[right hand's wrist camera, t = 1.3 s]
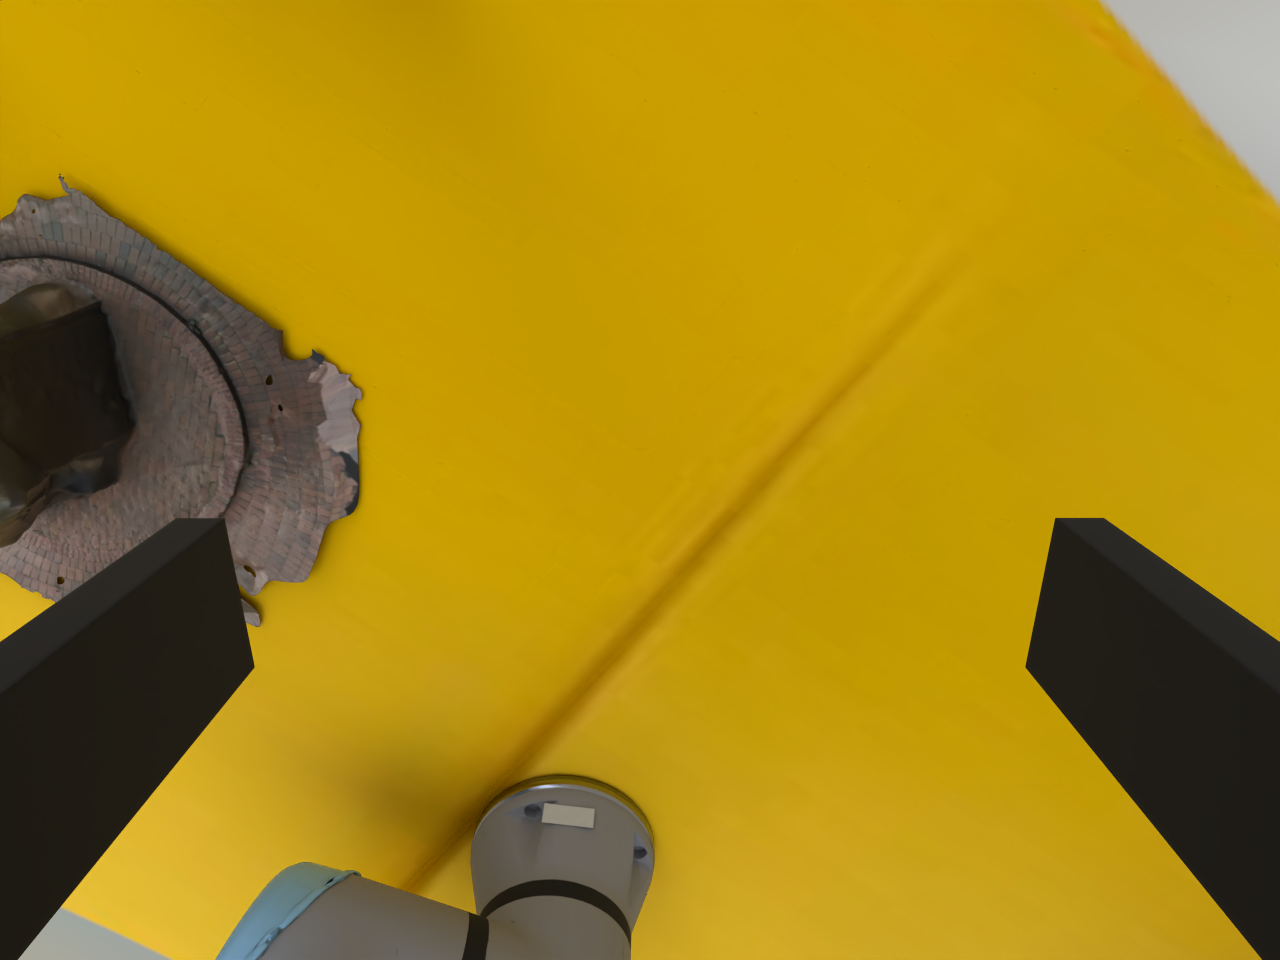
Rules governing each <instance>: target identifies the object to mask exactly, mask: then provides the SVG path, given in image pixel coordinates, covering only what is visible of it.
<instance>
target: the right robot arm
mask: <svg viewBox="0 0 1280 960" xmlns="http://www.w3.org/2000/svg"><path fill="white" fill-rule="evenodd" d="M253 669H254V662H253V657H252V652H251V647H250V642H249V637H248V632H247V627H246V622H245V617H244V612H243V607H242V602H241V597H240V592H239V587H238V582H237V577H236V572H235V567H234V562H233V557H232V552H231V547H230V542H229V537H228V532H227V527H226V522H225V518H176V519H174V520H173V521H171V522H170V523H169V524H167V525H166V526H164V527H163V528H161V529H160V530H159V531H157V532H156V533H154V534H153V535H151V536H150V537H149V538H147V539H146V540H144V541H143V542H142V543H140V544H139V545H137V546H136V547H134V548H133V549H132V550H130V551H129V552H127V553H126V554H124V555H123V556H122V557H120V558H119V559H117V560H116V561H115V562H113V563H112V564H110V565H109V566H107V567H106V568H105V569H103V570H102V571H100V572H99V573H98V574H96V575H95V576H93V577H92V578H90V579H89V580H88V581H86V582H85V583H83V584H82V585H80V586H79V587H78V588H76V589H75V590H73V591H72V592H71V593H69V594H68V595H66V596H65V597H63V598H62V599H61V600H59V601H58V602H56V603H55V604H53V605H52V606H51V607H49V608H48V609H46V610H45V611H44V612H42V613H41V614H39V615H38V616H36V617H35V618H34V619H32V620H31V621H29V622H28V623H27V624H25V625H24V626H22V627H21V628H19V629H18V630H17V631H15V632H14V633H12V634H11V635H9V636H8V637H7V638H5V639H4V640H2V641H1V642H0V960H18V959H19V957H20V956H21V955H22V954H23V952H24V951H25V950H26V949H27V947H28V946H29V945H30V944H31V943H32V941H33V940H34V939H35V938H36V936H37V935H38V934H39V933H40V931H41V930H42V929H43V928H44V927H45V925H46V924H47V923H48V922H49V920H50V919H51V918H52V917H53V915H54V914H55V913H56V912H57V910H58V909H59V908H60V907H61V906H62V904H63V903H64V902H65V901H66V899H67V898H68V897H69V896H70V894H71V893H72V892H73V891H74V890H75V888H76V887H77V886H78V885H79V883H80V882H81V881H82V880H83V878H84V877H85V876H86V875H87V873H88V872H89V871H90V870H91V869H92V867H93V866H94V865H95V864H96V862H97V861H98V860H99V859H100V857H101V856H102V855H103V854H104V852H105V851H106V850H107V849H108V848H109V846H110V845H111V844H112V843H113V841H114V840H115V839H116V838H117V836H118V835H119V834H120V833H121V831H122V830H123V829H124V828H125V827H126V825H127V824H128V823H129V822H130V820H131V819H132V818H133V817H134V815H135V814H136V813H137V812H138V811H139V809H140V808H141V807H142V806H143V804H144V803H145V802H146V801H147V799H148V798H149V797H150V796H151V794H152V793H153V792H154V791H155V790H156V788H157V787H158V786H159V785H160V783H161V782H162V781H163V780H164V778H165V777H166V776H167V775H168V773H169V772H170V771H171V770H172V769H173V767H174V766H175V765H176V764H177V762H178V761H179V760H180V759H181V757H182V756H183V755H184V754H185V752H186V751H187V750H188V749H189V748H190V746H191V745H192V744H193V743H194V741H195V740H196V739H197V738H198V736H199V735H200V734H201V733H202V732H203V730H204V729H205V728H206V727H207V725H208V724H209V723H210V722H211V720H212V719H213V718H214V717H215V715H216V714H217V713H218V712H219V711H220V709H221V708H222V707H223V706H224V704H225V703H226V702H227V701H228V699H229V698H230V697H231V696H232V694H233V693H234V692H235V691H236V690H237V688H238V687H239V686H240V685H241V683H242V682H243V681H244V680H245V678H246V677H247V676H248V675H249V673H250V672H251V671H252V670H253ZM1026 669H1027V670H1028V671H1029V672H1030V673H1031V675H1032V676H1033V677H1034V678H1035V680H1036V681H1037V682H1038V683H1039V685H1040V686H1041V687H1042V688H1043V690H1044V691H1045V692H1046V693H1047V694H1048V696H1049V697H1050V698H1051V699H1052V701H1053V702H1054V703H1055V704H1056V706H1057V707H1058V708H1059V709H1060V711H1061V712H1062V713H1063V714H1064V715H1065V717H1066V718H1067V719H1068V720H1069V722H1070V723H1071V724H1072V725H1073V727H1074V728H1075V729H1076V730H1077V732H1078V733H1079V734H1080V735H1081V736H1082V738H1083V739H1084V740H1085V741H1086V743H1087V744H1088V745H1089V746H1090V748H1091V749H1092V750H1093V751H1094V752H1095V754H1096V755H1097V756H1098V757H1099V759H1100V760H1101V761H1102V762H1103V764H1104V765H1105V766H1106V767H1107V769H1108V770H1109V771H1110V772H1111V773H1112V775H1113V776H1114V777H1115V778H1116V780H1117V781H1118V782H1119V783H1120V785H1121V786H1122V787H1123V788H1124V790H1125V791H1126V792H1127V793H1128V794H1129V796H1130V797H1131V798H1132V799H1133V801H1134V802H1135V803H1136V804H1137V806H1138V807H1139V808H1140V809H1141V811H1142V812H1143V813H1144V814H1145V815H1146V817H1147V818H1148V819H1149V820H1150V822H1151V823H1152V824H1153V825H1154V827H1155V828H1156V829H1157V830H1158V832H1159V833H1160V834H1161V835H1162V836H1163V838H1164V839H1165V840H1166V841H1167V843H1168V844H1169V845H1170V846H1171V848H1172V849H1173V850H1174V851H1175V852H1176V854H1177V855H1178V856H1179V857H1180V859H1181V860H1182V861H1183V862H1184V864H1185V865H1186V866H1187V867H1188V869H1189V870H1190V871H1191V872H1192V873H1193V875H1194V876H1195V877H1196V878H1197V880H1198V881H1199V882H1200V883H1201V885H1202V886H1203V887H1204V888H1205V890H1206V891H1207V892H1208V893H1209V894H1210V896H1211V897H1212V898H1213V899H1214V901H1215V902H1216V903H1217V904H1218V906H1219V907H1220V908H1221V909H1222V911H1223V912H1224V913H1225V914H1226V915H1227V917H1228V918H1229V919H1230V920H1231V922H1232V923H1233V924H1234V925H1235V927H1236V928H1237V929H1238V930H1239V931H1240V933H1241V934H1242V935H1243V936H1244V938H1245V939H1246V940H1247V941H1248V943H1249V944H1250V945H1251V946H1252V948H1253V949H1254V950H1255V951H1256V952H1257V954H1258V955H1259V956H1260V957H1261V959H1262V960H1280V642H1279V641H1278V640H1276V639H1275V638H1273V637H1272V636H1271V635H1269V634H1268V633H1266V632H1265V631H1263V630H1262V629H1261V628H1259V627H1258V626H1256V625H1255V624H1253V623H1252V622H1251V621H1249V620H1248V619H1246V618H1245V617H1244V616H1242V615H1241V614H1239V613H1238V612H1236V611H1235V610H1234V609H1232V608H1231V607H1229V606H1228V605H1226V604H1225V603H1224V602H1222V601H1221V600H1219V599H1218V598H1217V597H1215V596H1214V595H1212V594H1211V593H1209V592H1208V591H1207V590H1205V589H1204V588H1202V587H1201V586H1200V585H1198V584H1197V583H1195V582H1194V581H1192V580H1191V579H1190V578H1188V577H1187V576H1185V575H1184V574H1182V573H1181V572H1180V571H1178V570H1177V569H1175V568H1174V567H1173V566H1171V565H1170V564H1168V563H1167V562H1165V561H1164V560H1163V559H1161V558H1160V557H1158V556H1157V555H1156V554H1154V553H1153V552H1151V551H1150V550H1148V549H1147V548H1146V547H1144V546H1143V545H1141V544H1140V543H1138V542H1137V541H1136V540H1134V539H1133V538H1131V537H1130V536H1129V535H1127V534H1126V533H1124V532H1123V531H1121V530H1120V529H1119V528H1117V527H1116V526H1114V525H1113V524H1111V523H1110V522H1109V521H1107V520H1106V519H1104V518H1055V522H1054V527H1053V532H1052V537H1051V542H1050V547H1049V552H1048V557H1047V562H1046V567H1045V572H1044V577H1043V582H1042V587H1041V592H1040V597H1039V602H1038V607H1037V612H1036V617H1035V622H1034V627H1033V632H1032V637H1031V642H1030V647H1029V652H1028V657H1027V662H1026ZM653 869H654V838H653V834H652V830H651V828H650V825H649V823H648V821H647V819H646V817H645V816H644V814H643V813H642V812H641V810H640V809H639V808H638V807H637V806H636V805H635V804H634V803H633V802H632V801H631V800H630V799H629V798H628V797H626V796H625V795H624V794H622V793H621V792H619V791H617V790H616V789H614V788H612V787H610V786H608V785H605V784H603V783H600V782H598V781H595V780H591V779H587V778H582V777H576V776H561V775H559V776H546V777H539V778H535V779H531V780H527V781H524V782H522V783H519V784H517V785H515V786H513V787H511V788H509V789H507V790H505V791H504V792H502V793H501V794H500V795H498V796H497V797H496V798H495V799H494V800H493V801H492V802H491V803H490V804H489V805H488V806H487V807H486V809H485V810H484V812H483V813H482V815H481V817H480V819H479V821H478V824H477V827H476V830H475V834H474V838H473V842H472V847H471V873H472V881H473V888H474V896H475V903H476V911H477V915H476V914H472V913H469V912H467V911H464V910H461V909H458V908H455V907H452V906H449V905H446V904H443V903H440V902H437V901H434V900H430V899H427V898H424V897H421V896H418V895H415V894H412V893H409V892H406V891H403V890H400V889H397V888H394V887H391V886H388V885H385V884H382V883H379V882H376V881H373V880H369V879H366V878H363V877H361V874H360V873H359V872H357V871H355V870H352V871H351V870H346V871H341V870H338V869H334V868H330V867H327V866H323V865H319V864H316V863H311V862H302V863H298V864H296V865H293V866H290V867H287V868H286V869H284V870H282V871H281V872H280V873H279V874H277V875H276V876H275V877H274V878H273V879H272V880H271V881H270V882H269V883H268V884H267V886H266V887H265V888H264V889H263V890H262V892H261V893H260V894H259V895H258V897H257V898H256V899H255V901H254V902H253V903H252V905H251V906H250V907H249V909H248V910H247V912H246V913H245V914H244V916H243V917H242V919H241V920H240V922H239V923H238V925H237V926H236V928H235V929H234V931H233V932H232V934H231V935H230V937H229V938H228V940H227V941H226V943H225V945H224V946H223V948H222V950H221V951H220V953H219V955H218V956H217V958H216V960H631V934H632V931H633V928H634V926H635V923H636V920H637V918H638V915H639V913H640V910H641V907H642V905H643V902H644V900H645V897H646V894H647V892H648V889H649V886H650V883H651V880H652V874H653Z"/></svg>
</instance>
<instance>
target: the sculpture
mask: <svg viewBox="0 0 1280 960" xmlns="http://www.w3.org/2000/svg"><path fill="white" fill-rule="evenodd" d="M59 175H61V174H59ZM58 178H59V179H60V181H61V184H62V188H63V190H64V191H65V192H66V193H68V194H70V195H68V196H64V197H59V198H54V199H51V200H44V199H41V198H39V197H36V196H33V195H29V194H24V195H22V196H21V197H20V198H19V199H18V201H17V207H16V209H15V210H14V212H12V213H11V214H9V215H7V216H5V217H4V218H2V220H1V221H0V572H1V573H3V574H6V575H7V576H9V577H10V578H12V579H13V580H14V581H16V582H17V583H18V584H19V585H20V586H21V587H22V588H26V589H27V590H29V591H31V592H34V591H38V592H39V593H40V594H42V597H44V598H46V599H49V598H50V599H51V600H53V601H55V603H56V602H58V601H59V600H61V599H62V598H63V597H65V596H66V595H68V594H69V593H71V592H72V591H73V590H75V589H76V588H78V587H79V586H80V585H82V584H83V583H85V582H86V581H88V580H89V579H90V578H92V577H93V576H95V575H96V574H98V573H99V572H100V571H102V570H103V569H105V568H106V567H107V566H109V565H110V564H112V563H113V562H115V561H116V560H117V559H119V558H120V557H122V556H123V555H124V554H126V553H127V552H129V551H130V550H132V549H133V548H134V547H136V546H137V545H139V544H140V543H142V542H143V541H144V540H146V539H147V538H149V537H150V536H151V535H153V534H154V533H156V532H157V531H159V530H160V529H161V528H163V527H164V526H166V525H167V524H169V523H170V522H171V521H173V520H174V519H176V518H225V522H226V527H227V532H228V537H229V542H230V547H231V552H232V557H233V562H234V567H235V572H236V577H237V582H238V584H239V585H241V586H242V587H243V588H244V589H245V590H246V592H247V593H248V594H250V595H252V596H255V595H256V594H258V593H259V592H260V591H261V589H262V587H263V586H264V585H265V584H266V583H267V582H269V581H272V580H275V581H283V582H294V583H298V582H304V581H305V580H307V579H308V576H309V574H310V571H311V569H312V567H313V564H314V562H315V559H316V557H317V553H318V550H319V546H320V543H321V540H322V537H323V534H324V531H325V529H326V527H327V526H328V524H329V523H331V522H332V521H334V520H337V519H340V518H343V517H346V516H348V515H350V514H351V513H353V512H354V510H355V508H356V506H357V502H358V496H359V473H358V451H357V436H358V433H359V429H360V426H361V425H360V424H359V422H358V420H357V419H356V417H355V416H354V414H353V412H352V408H353V405H354V402H355V399H359V400H362V394H361V391H360V389H359V388H355V387H354V385H353V384H352V383H351V382H350V381H349V380H348V379H349V377H350V376H351V375H346V374H344V373H343V374H340V373H339V372H338V370H337V368H336V366H335V365H333V364H331V363H328V362H326V361H325V359H324V357H323V356H322V355H320V354H318V353H317V352H315V351H314V350H313V349H312V352H313V353H312V356H311V357H310V358H308V359H306V360H300V361H294V360H290V359H288V358H287V357H286V356H285V354H284V351H283V340H282V333H283V330H282V331H281V330H279V332H278V333H277V328H276V329H273V328H271V327H270V326H269V325H268V324H267V323H266V322H265V321H263V320H262V319H260V318H259V317H256V316H255V315H254V313H252V312H250V311H247V310H246V309H245V308H244V307H242V306H241V305H239V304H238V303H237V304H236V303H234V301H233V300H232V299H230V298H229V297H227V296H226V295H224V294H223V293H222V294H221V292H220V291H218V290H217V289H216V288H215V287H214V286H212V285H211V284H210V283H208V282H206V280H205V279H203V278H200V277H199V276H197V275H196V273H194V272H193V271H192V270H191V269H189V268H188V267H187V266H185V265H184V264H181V262H180V261H179V262H178V261H177V260H175V259H174V258H173V257H172V256H171V255H170V254H167V253H166V251H161V250H157V246H156V245H155V244H152V242H150V241H149V240H148V239H147V238H145V237H142V236H141V235H140V234H138V232H136V231H134V230H133V229H131V228H128V226H125V224H124V223H122V222H121V221H120V220H118V219H115V218H112V217H110V216H108V214H107V213H105V212H104V211H103V210H102V209H101V208H99V207H98V206H97V205H95V202H93V201H92V200H91V199H88V197H87V196H85V195H83V193H82V192H81V191H78V190H75V189H70V188H68V186H67V184H66V183H65V182H64V181H63V179H64V177H61V176H59V177H58ZM33 209H35V210H36V212H35V213H32V210H33ZM56 210H57V212H56ZM269 375H272V379H273V384H272V385H267V384H266V379H267V377H268V376H269ZM278 405H281V406H282V407H283V411H280V410H279V409H278ZM244 565H247V566H249V567H251V568H252V569H253V570H254V572H255V574H256V577H254V576H253V575H252V574H251V573H250V572H247V571H246V570H245V569H244ZM9 570H10V571H9ZM59 576H60V577H63V578H64V579H65V581H64V583H63V584H57V578H58V577H59ZM253 589H254V590H253ZM241 602H242V607H243V612H244V617H245V622H246V623H249V624H251V625H253V626H256V627H259V626H260V618H259V615H258V612H257V611H256V610H255V609H254V608H253V607H252V606H251V605H249V604H248V603H247V602H246V601H245V600H243V599H241Z"/></svg>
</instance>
